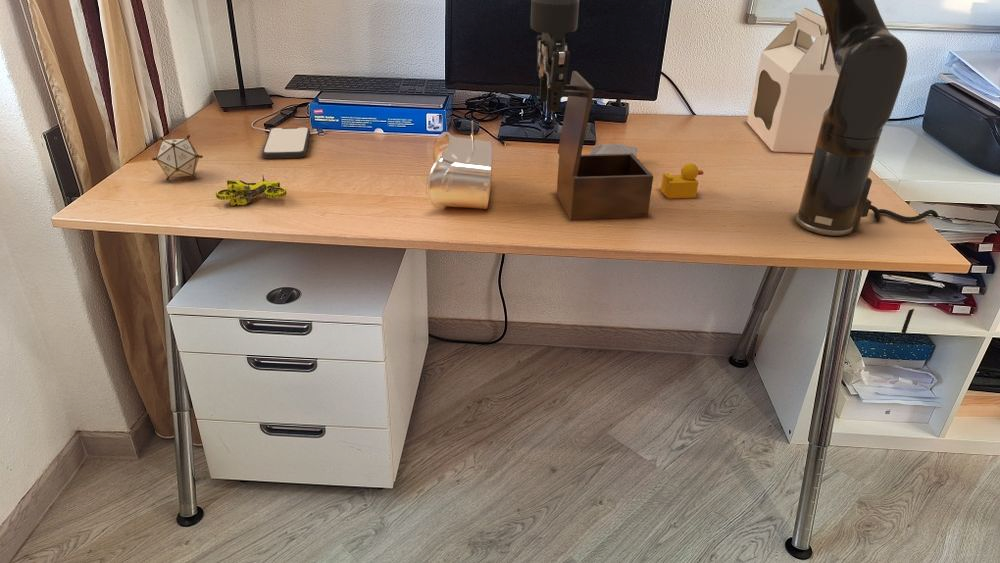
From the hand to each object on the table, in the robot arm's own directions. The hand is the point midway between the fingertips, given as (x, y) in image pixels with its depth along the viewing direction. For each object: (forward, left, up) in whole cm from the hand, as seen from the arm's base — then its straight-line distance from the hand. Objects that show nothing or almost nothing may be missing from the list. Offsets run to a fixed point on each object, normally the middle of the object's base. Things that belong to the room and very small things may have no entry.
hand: (549, 105), depth 120 cm
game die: (+67, -20, -19) cm, 72 cm away
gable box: (-66, -35, -19) cm, 77 cm away
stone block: (-18, -19, -19) cm, 33 cm away
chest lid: (-5, 0, -3) cm, 6 cm away
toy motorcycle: (+52, -8, -19) cm, 56 cm away
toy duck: (-27, -4, -19) cm, 33 cm away
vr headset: (+15, -7, -19) cm, 25 cm away
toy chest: (-11, 0, -19) cm, 22 cm away
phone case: (+49, -37, -19) cm, 64 cm away
